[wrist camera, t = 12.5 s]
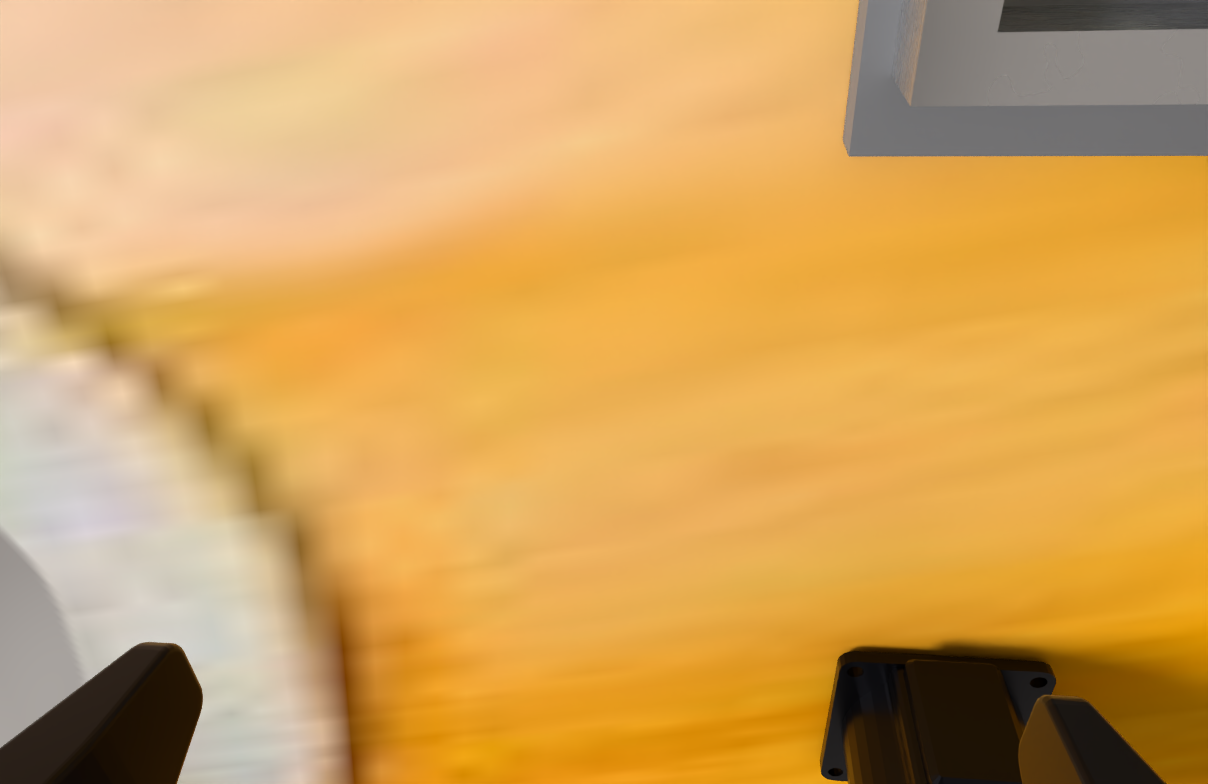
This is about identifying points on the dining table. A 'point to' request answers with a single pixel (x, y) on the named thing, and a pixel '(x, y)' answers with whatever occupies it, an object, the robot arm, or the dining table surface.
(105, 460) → the dining table surface
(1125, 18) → the socket
